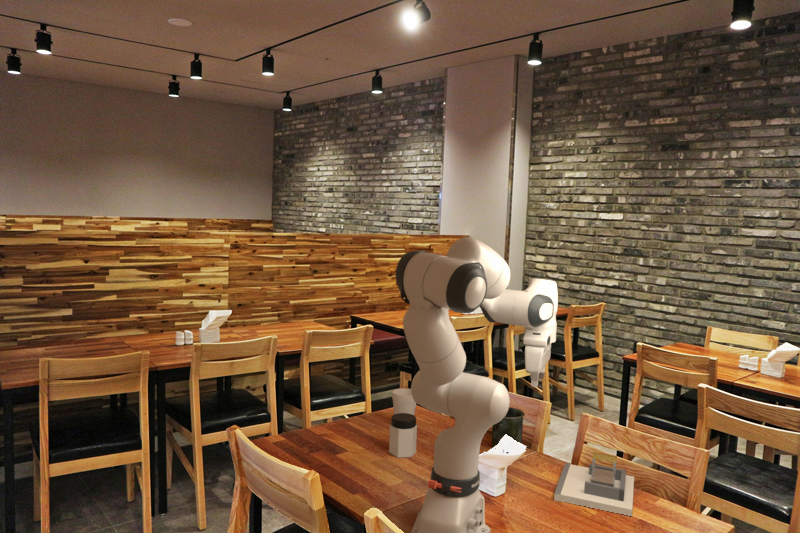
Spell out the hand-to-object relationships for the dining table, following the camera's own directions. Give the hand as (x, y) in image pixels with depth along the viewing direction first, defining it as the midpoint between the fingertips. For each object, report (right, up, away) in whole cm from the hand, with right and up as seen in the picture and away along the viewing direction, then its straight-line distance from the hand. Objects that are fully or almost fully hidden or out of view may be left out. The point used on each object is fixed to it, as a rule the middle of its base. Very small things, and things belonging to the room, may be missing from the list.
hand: (537, 382), depth 163 cm
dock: (+17, -32, +1) cm, 36 cm away
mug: (-4, -29, +31) cm, 42 cm away
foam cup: (-38, -26, +48) cm, 66 cm away
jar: (-38, -28, +24) cm, 54 cm away
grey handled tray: (+19, -30, 0) cm, 35 cm away
